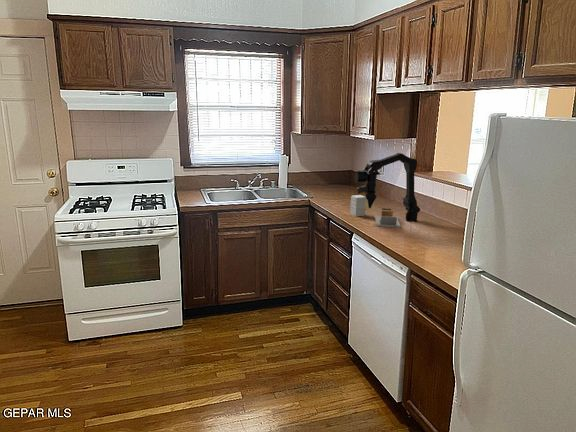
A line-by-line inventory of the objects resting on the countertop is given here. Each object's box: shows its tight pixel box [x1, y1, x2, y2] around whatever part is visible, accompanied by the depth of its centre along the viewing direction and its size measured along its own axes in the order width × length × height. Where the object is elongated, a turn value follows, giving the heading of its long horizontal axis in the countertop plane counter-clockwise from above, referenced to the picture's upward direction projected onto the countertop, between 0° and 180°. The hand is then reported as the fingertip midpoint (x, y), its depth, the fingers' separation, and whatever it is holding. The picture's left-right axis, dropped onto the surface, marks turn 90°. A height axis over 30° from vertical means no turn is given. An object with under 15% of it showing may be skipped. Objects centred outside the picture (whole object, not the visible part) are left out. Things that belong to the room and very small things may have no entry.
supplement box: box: [349, 194, 366, 217], centre depth 290 cm, size 7×7×13 cm
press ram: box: [380, 207, 394, 217], centre depth 280 cm, size 7×8×5 cm
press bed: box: [374, 215, 401, 228], centre depth 274 cm, size 14×22×6 cm, turn 172°
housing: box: [365, 199, 375, 212], centre depth 270 cm, size 5×5×7 cm
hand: (369, 207), depth 271 cm, fingers closed on housing, 5 cm apart
